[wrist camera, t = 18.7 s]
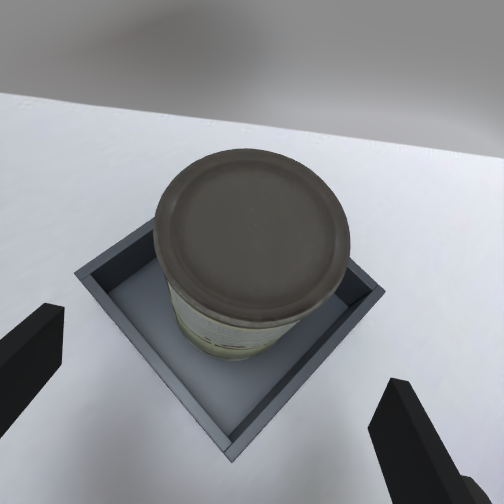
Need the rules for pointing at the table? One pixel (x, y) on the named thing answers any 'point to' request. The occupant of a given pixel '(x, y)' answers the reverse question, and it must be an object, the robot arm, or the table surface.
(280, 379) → the grey bin
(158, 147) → the table surface
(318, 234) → the coffee can
